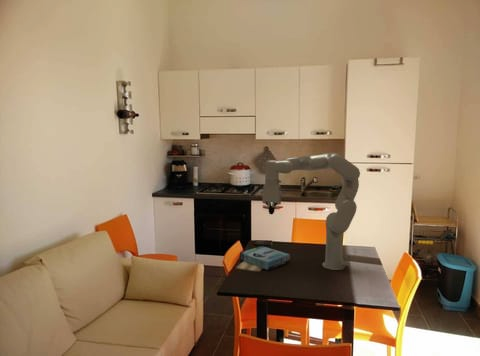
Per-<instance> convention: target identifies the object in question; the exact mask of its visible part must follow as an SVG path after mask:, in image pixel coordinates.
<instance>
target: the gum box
mask: <svg viewBox="0 0 480 356" xmlns="http://www.w3.org/2000/svg"><path fill="white" fill-rule="evenodd" d="M239 260H240V261H242V262H243V261H245V262H248V263H250V264H253V265H256V266H258V267H261V268H263V269H265V270H267V271H270V270H272V269H275V268H277V267H280V266H283V265H286V264H288V263H290V261H291V255H290V253H286V252H283V251H279V250H278V249H277V250H276V249H274V248H273V249H272V248H269V247H266V246H263V245H259V246H257V247H254V248H250V249H247V250H244V251H240V252H239Z"/></svg>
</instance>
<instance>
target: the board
mask: <svg viewBox="0 0 480 356" xmlns="http://www.w3.org/2000/svg"><path fill="white" fill-rule="evenodd" d="M235 269H236V270H244V271H249V272H255V273H256V272H257V273H260V272H261V271H262V270H263V269H264V268H261V267H258V266H256V265H253V264H250V263H248V262H245V261H242V262H241V263H239V264H238V265H237V266H236V267H235Z"/></svg>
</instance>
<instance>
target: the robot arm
mask: <svg viewBox="0 0 480 356" xmlns="http://www.w3.org/2000/svg"><path fill="white" fill-rule="evenodd" d="M264 164H265V169H264V170H265V171H264V172H265V173H264V174H265V177H264V181H265V182H264V184H263V188H262V198H261V199H262V203H263V204H264V205H266V206H267V207H268V213H269V215H274V213H275V207H276V206H279V205H281V204H282V188H281V183H282V180H280V176H279V174H286V175H287V174H290V173H292V172H293V171H310V172H311V171H319V170H325V169H332V170H333V171H335V173H337V174H338V175H340V177H341V178H342V180H343V182H342V188H341V190H340V191H339V194H338V197H337V198H336V200H335V203H334V206H335V209H336V212H335V211H334V212H330V213H329V214H328V215H327V216H326V219H325V230H326V231H325V233H326V234H325V235H326V236H325V257H324V259H325V261H323V262H322V264H321V265H322V267H323V268H324V269H327V270H331V271H341V270H344V269H345V268H346V267H351V262H349V261H347V260H346V261H345V260H344V258H343V253H344V252H343V251H344V250H343V247H344V246H343V245H344V233H345V232H347V230H348V229H349V228H350V225H351V224H352V221H353V220H354V217H355V215H356V213H357V208H358V207H357V203H356V202H355V198H356V196H357V193H358V191H359V188H360V181H359V179H360V175H361V171H360V169H359V167H357V166H356V165H355V164H353V163H352V162H351V161H349V160H348V159H346V158H345V157H343V156H342V155H340V154H339V153H336V152H326V153H321V154H320V153H318V154H313V155H304V156H297V157H296V156H295V157H289V158H288V157H287V158H282V159H280V160H277V159H268V160H266V161H265V163H264Z"/></svg>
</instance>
